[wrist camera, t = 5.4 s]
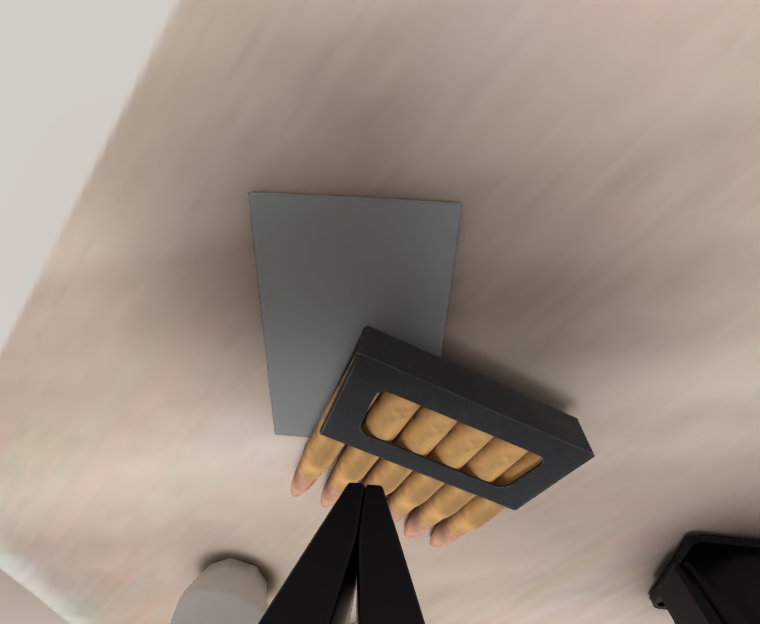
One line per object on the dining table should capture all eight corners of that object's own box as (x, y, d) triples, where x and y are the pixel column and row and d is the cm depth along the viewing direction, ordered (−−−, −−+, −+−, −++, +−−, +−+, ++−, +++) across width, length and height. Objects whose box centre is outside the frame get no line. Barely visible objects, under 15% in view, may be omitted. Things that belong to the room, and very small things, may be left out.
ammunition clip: (598, 456, 14) (445, 566, 20) (581, 420, 16) (444, 532, 22) (357, 352, 13) (272, 505, 19) (365, 324, 14) (283, 473, 21)
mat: (460, 202, 13) (462, 203, 13) (428, 442, 18) (428, 447, 18) (252, 191, 14) (248, 192, 13) (277, 428, 19) (274, 434, 18)
